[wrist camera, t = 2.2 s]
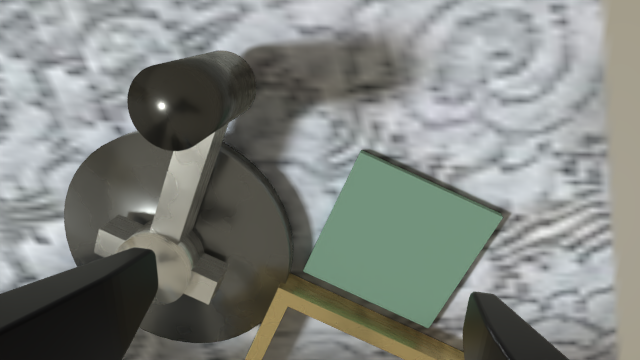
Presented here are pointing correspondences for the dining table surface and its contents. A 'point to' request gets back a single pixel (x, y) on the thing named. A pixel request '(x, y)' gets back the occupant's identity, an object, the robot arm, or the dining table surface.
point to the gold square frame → (347, 323)
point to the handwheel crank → (182, 164)
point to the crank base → (210, 226)
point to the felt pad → (399, 239)
